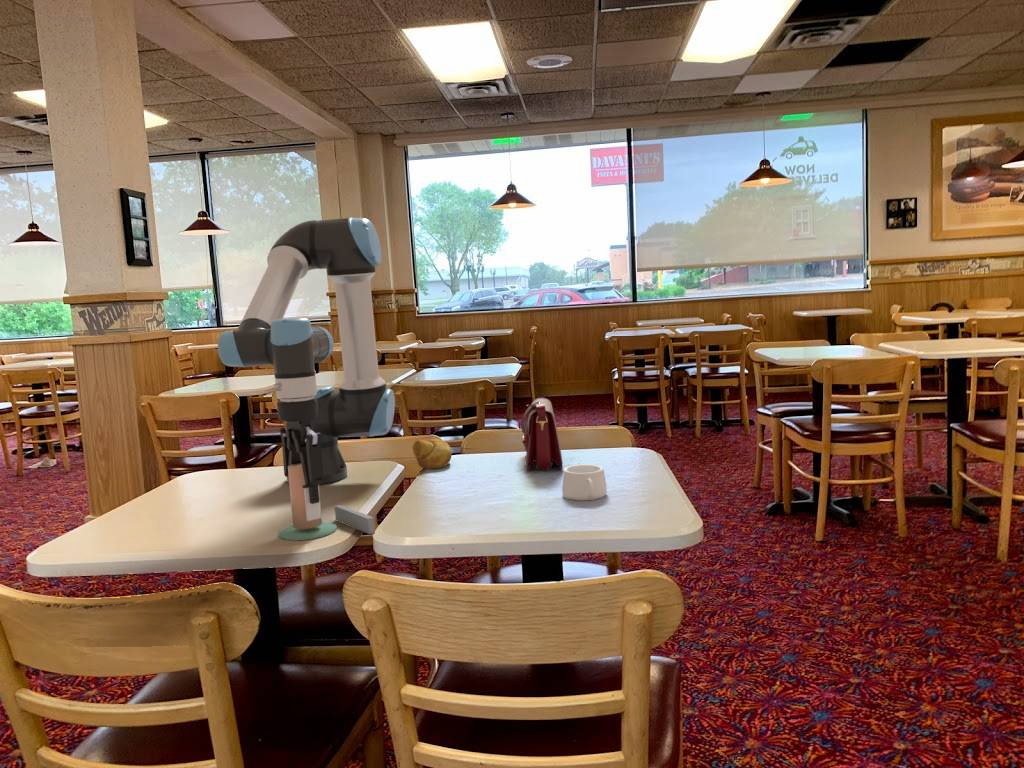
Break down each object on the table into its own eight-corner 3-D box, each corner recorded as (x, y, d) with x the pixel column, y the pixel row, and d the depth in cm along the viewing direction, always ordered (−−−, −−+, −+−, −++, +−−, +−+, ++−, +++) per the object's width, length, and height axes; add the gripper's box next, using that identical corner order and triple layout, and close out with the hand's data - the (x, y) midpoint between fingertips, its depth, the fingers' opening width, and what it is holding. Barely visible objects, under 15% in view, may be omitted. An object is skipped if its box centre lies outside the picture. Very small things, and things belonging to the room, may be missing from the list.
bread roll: (423, 460, 210) (422, 432, 210) (458, 459, 209) (456, 431, 208) (412, 471, 198) (409, 441, 197) (448, 470, 196) (446, 440, 196)
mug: (558, 492, 169) (557, 465, 168) (600, 488, 170) (599, 462, 169) (569, 506, 157) (568, 478, 156) (615, 502, 158) (614, 474, 158)
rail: (335, 520, 155) (334, 505, 155) (340, 518, 156) (339, 504, 156) (369, 534, 145) (368, 518, 144) (374, 532, 145) (373, 517, 145)
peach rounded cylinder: (288, 525, 149) (283, 465, 147) (314, 519, 152) (309, 460, 151) (300, 531, 144) (295, 469, 143) (326, 524, 148) (321, 464, 146)
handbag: (523, 452, 214) (520, 391, 212) (560, 450, 214) (557, 389, 212) (520, 475, 187) (517, 405, 185) (563, 473, 186) (560, 403, 184)
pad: (270, 532, 149) (269, 530, 149) (321, 519, 156) (321, 518, 156) (293, 544, 141) (293, 542, 141) (346, 530, 148) (346, 528, 148)
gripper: (259, 397, 150) (269, 511, 153) (298, 404, 136) (309, 530, 139) (295, 393, 155) (304, 503, 157) (337, 399, 141) (346, 520, 143)
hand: (306, 515), depth 148 cm, fingers closed on peach rounded cylinder, 5 cm apart
